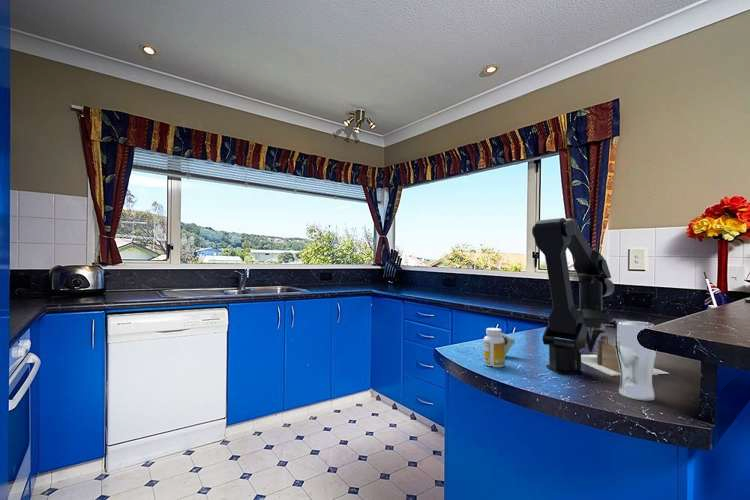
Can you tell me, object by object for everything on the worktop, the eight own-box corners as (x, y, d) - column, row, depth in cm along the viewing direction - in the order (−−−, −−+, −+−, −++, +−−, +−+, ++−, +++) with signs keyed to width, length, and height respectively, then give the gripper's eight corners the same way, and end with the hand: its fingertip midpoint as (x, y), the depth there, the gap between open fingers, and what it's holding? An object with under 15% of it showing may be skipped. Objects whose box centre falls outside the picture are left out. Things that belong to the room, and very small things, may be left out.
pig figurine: (514, 354, 106) (514, 332, 107) (518, 358, 102) (517, 334, 103) (487, 353, 107) (487, 331, 108) (489, 357, 103) (489, 334, 104)
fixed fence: (627, 378, 84) (626, 350, 84) (595, 365, 95) (595, 340, 95) (634, 378, 84) (633, 350, 84) (602, 365, 95) (601, 340, 95)
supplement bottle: (506, 364, 96) (506, 328, 97) (502, 369, 92) (501, 331, 92) (487, 361, 99) (486, 326, 100) (481, 365, 95) (481, 329, 95)
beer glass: (608, 389, 77) (606, 320, 77) (638, 388, 77) (635, 320, 78) (634, 402, 70) (632, 326, 70) (667, 401, 70) (664, 325, 71)
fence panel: (605, 362, 95) (604, 342, 95) (598, 361, 96) (597, 341, 96) (608, 355, 102) (608, 336, 103) (602, 354, 103) (601, 335, 103)
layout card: (612, 375, 86) (612, 373, 86) (568, 356, 104) (568, 354, 104) (668, 374, 87) (668, 372, 87) (615, 355, 105) (615, 354, 105)
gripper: (552, 299, 101) (552, 353, 100) (633, 304, 91) (633, 364, 91) (555, 295, 110) (555, 345, 110) (629, 299, 100) (629, 354, 100)
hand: (590, 352), depth 102 cm, fingers closed
